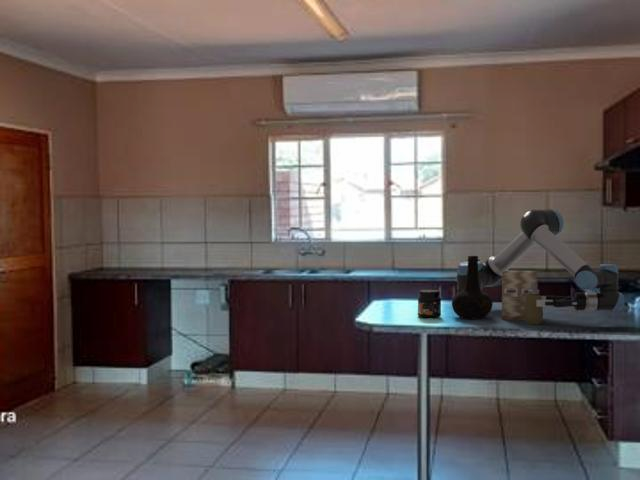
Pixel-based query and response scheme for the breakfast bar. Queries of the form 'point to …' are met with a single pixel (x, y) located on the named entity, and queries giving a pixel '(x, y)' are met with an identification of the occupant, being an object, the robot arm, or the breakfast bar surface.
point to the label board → (516, 292)
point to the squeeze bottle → (533, 306)
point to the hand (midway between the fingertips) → (533, 301)
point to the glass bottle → (472, 295)
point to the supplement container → (429, 304)
